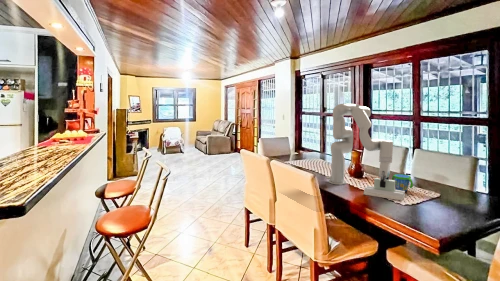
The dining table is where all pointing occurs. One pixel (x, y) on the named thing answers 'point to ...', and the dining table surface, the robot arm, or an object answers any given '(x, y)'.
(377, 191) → the track board
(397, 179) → the snack cup
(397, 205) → the dining table surface
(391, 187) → the door panel
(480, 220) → the dining table surface
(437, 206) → the dining table surface
